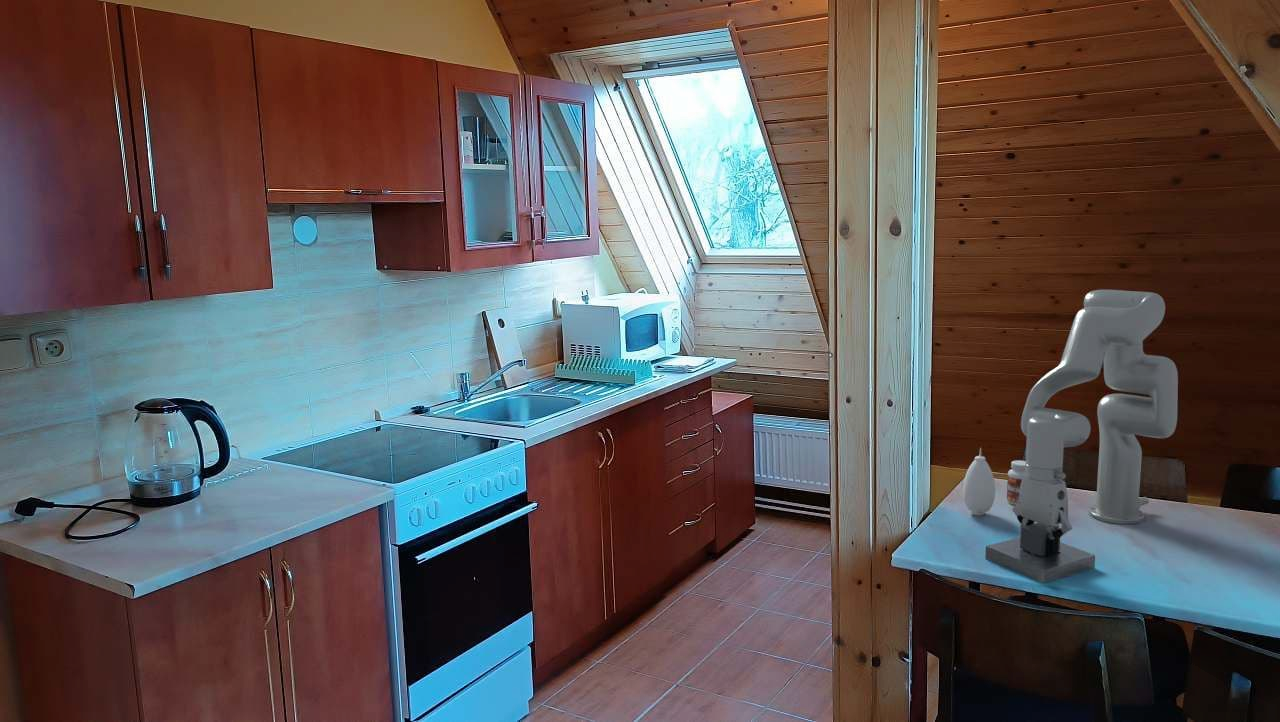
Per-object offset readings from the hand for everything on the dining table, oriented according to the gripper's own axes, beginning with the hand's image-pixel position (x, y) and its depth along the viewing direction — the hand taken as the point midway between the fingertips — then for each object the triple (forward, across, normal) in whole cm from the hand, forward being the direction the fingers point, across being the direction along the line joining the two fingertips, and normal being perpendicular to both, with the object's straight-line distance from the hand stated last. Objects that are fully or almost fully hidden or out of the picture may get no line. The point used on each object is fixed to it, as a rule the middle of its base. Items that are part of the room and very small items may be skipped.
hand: (1039, 549), depth 208 cm
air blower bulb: (+3, +30, -13) cm, 33 cm away
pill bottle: (+4, +31, -29) cm, 43 cm away
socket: (+3, 0, 0) cm, 3 cm away
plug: (+2, 0, 0) cm, 2 cm away
